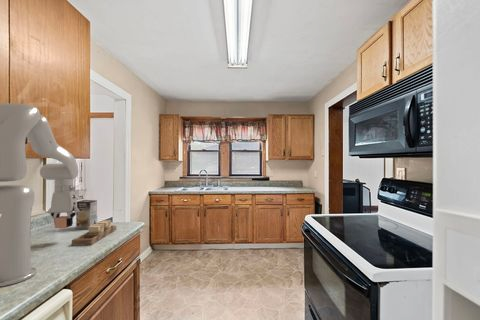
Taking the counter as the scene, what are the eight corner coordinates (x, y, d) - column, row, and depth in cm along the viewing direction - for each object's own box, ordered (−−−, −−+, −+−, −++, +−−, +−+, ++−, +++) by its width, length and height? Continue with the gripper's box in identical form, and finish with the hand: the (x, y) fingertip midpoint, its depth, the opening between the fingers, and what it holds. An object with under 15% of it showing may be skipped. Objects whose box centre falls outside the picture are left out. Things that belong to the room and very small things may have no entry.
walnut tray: (91, 245, 114) (91, 232, 114) (71, 245, 113) (71, 232, 113) (116, 229, 139) (116, 219, 139) (100, 230, 138) (100, 219, 138)
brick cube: (65, 228, 116) (65, 217, 116) (54, 228, 116) (54, 218, 116) (72, 225, 121) (72, 215, 121) (61, 225, 121) (62, 215, 121)
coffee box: (75, 229, 141) (75, 201, 141) (83, 226, 148) (83, 199, 148) (90, 229, 140) (89, 201, 140) (97, 226, 147) (97, 200, 147)
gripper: (86, 188, 123) (85, 224, 123) (51, 188, 123) (51, 224, 122) (76, 189, 116) (76, 227, 115) (40, 190, 115) (39, 228, 114)
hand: (63, 225), depth 119 cm, fingers closed on brick cube, 4 cm apart
